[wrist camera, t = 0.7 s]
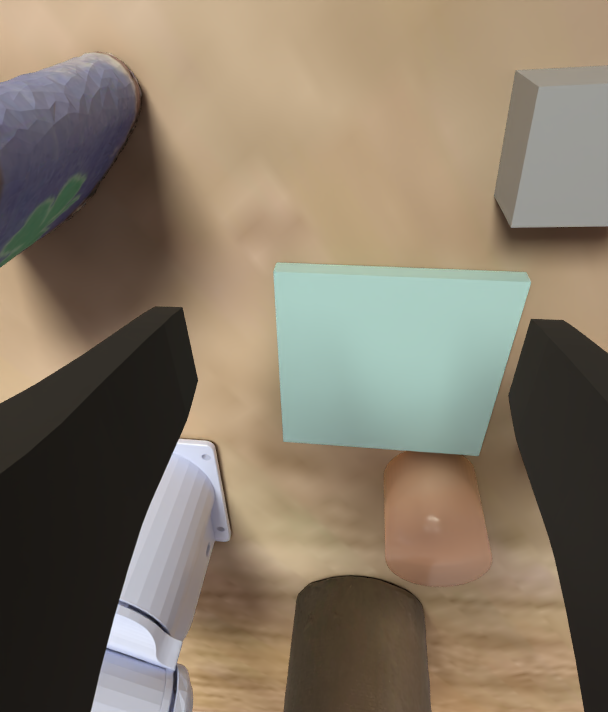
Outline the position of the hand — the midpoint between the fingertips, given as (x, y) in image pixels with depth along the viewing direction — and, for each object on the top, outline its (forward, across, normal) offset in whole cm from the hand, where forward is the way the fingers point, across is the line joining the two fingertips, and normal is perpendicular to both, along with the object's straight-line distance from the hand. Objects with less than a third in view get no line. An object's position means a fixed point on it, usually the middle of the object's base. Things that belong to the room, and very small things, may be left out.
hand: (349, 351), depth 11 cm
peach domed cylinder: (+10, -4, +16) cm, 19 cm away
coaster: (+10, -2, +8) cm, 13 cm away
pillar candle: (+10, -1, +32) cm, 34 cm away
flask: (+10, +11, -1) cm, 15 cm away
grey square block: (+10, -7, -2) cm, 12 cm away
